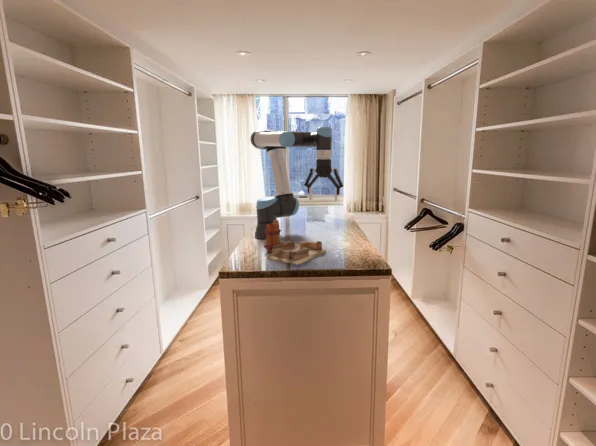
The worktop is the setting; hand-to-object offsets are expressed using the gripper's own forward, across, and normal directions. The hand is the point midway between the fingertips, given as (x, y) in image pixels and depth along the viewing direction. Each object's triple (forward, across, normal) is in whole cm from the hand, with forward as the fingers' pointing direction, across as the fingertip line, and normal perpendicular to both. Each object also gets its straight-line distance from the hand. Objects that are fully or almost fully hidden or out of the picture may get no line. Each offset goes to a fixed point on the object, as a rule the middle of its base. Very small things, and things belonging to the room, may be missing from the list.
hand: (323, 200), depth 168 cm
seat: (+24, -7, -20) cm, 32 cm away
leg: (+23, -2, -13) cm, 26 cm away
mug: (+25, -21, -16) cm, 36 cm away
